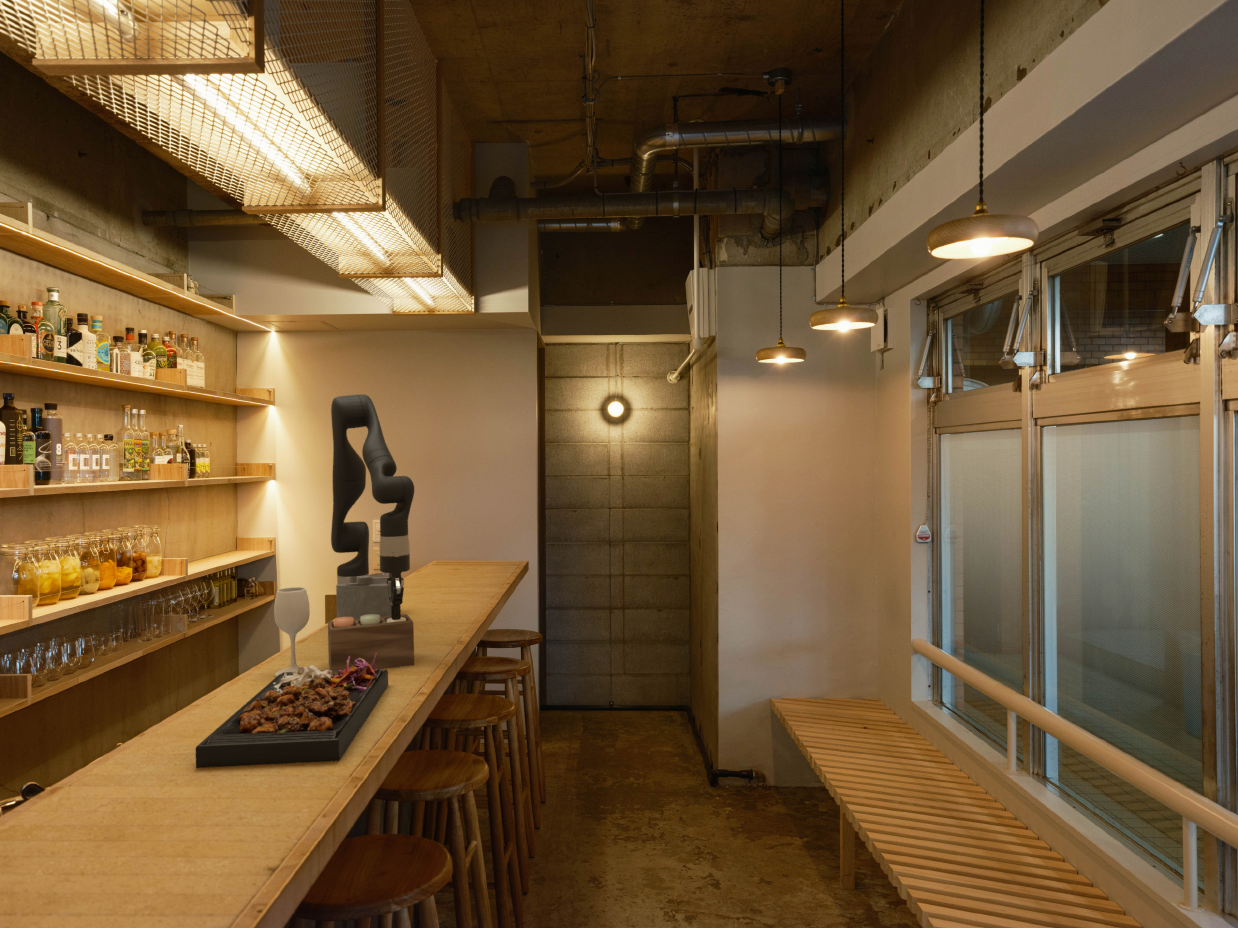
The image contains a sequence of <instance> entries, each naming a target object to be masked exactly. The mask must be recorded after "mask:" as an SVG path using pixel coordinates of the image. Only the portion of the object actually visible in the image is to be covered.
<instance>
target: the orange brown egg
mask: <svg viewBox="0 0 1238 928" xmlns="http://www.w3.org/2000/svg"><path fill="white" fill-rule="evenodd" d="M333 621H334V628H338V627H348V626H354V618H353V617H338V618H337V617H335V618H333Z"/></svg>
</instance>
